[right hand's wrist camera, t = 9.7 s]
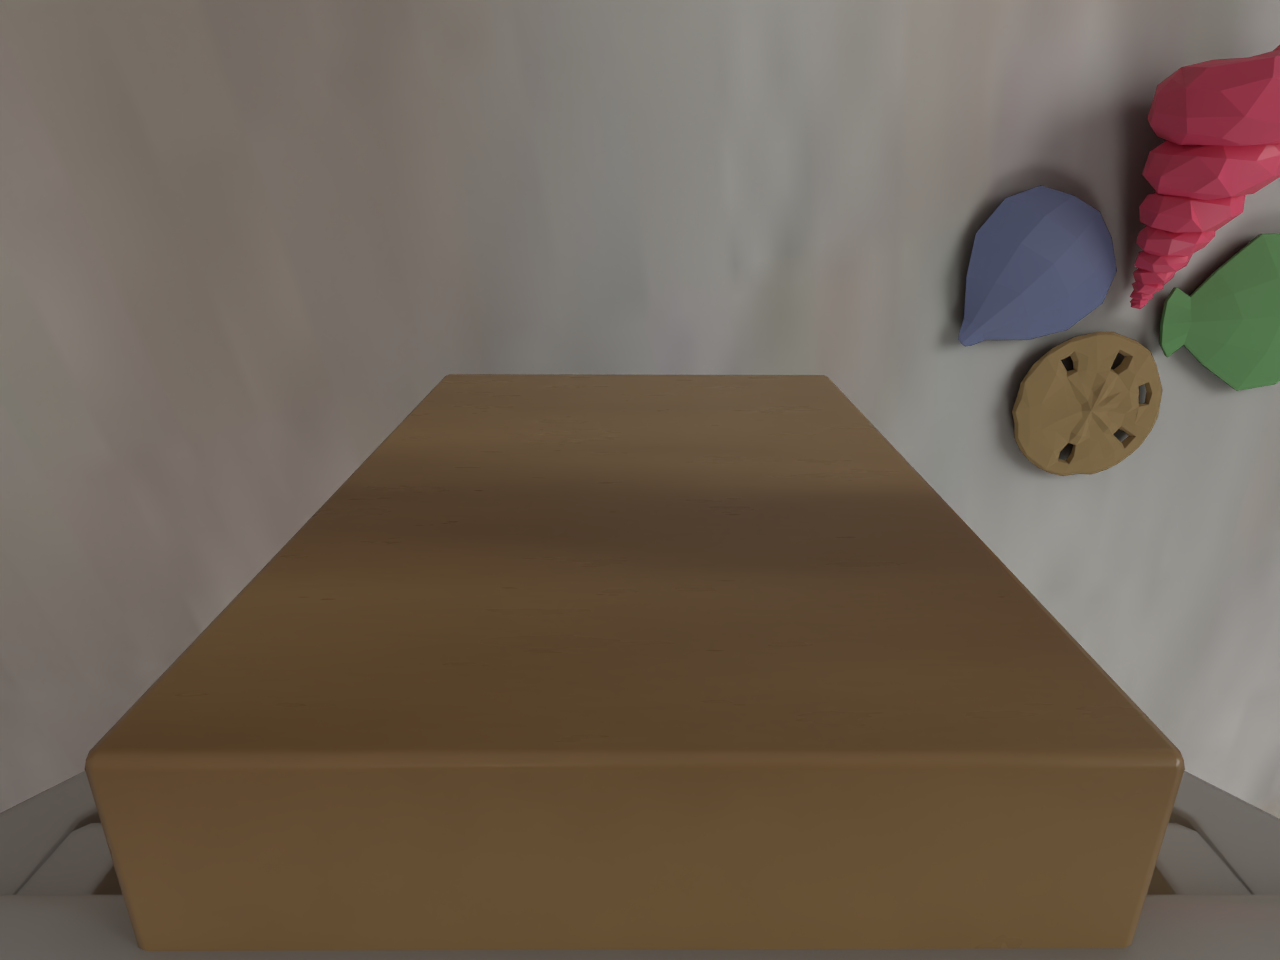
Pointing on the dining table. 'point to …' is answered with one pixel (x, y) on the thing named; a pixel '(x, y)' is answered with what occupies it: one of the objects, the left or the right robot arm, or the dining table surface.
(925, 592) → the box
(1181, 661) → the dining table surface
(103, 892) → the right robot arm
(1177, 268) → the toy pieces
